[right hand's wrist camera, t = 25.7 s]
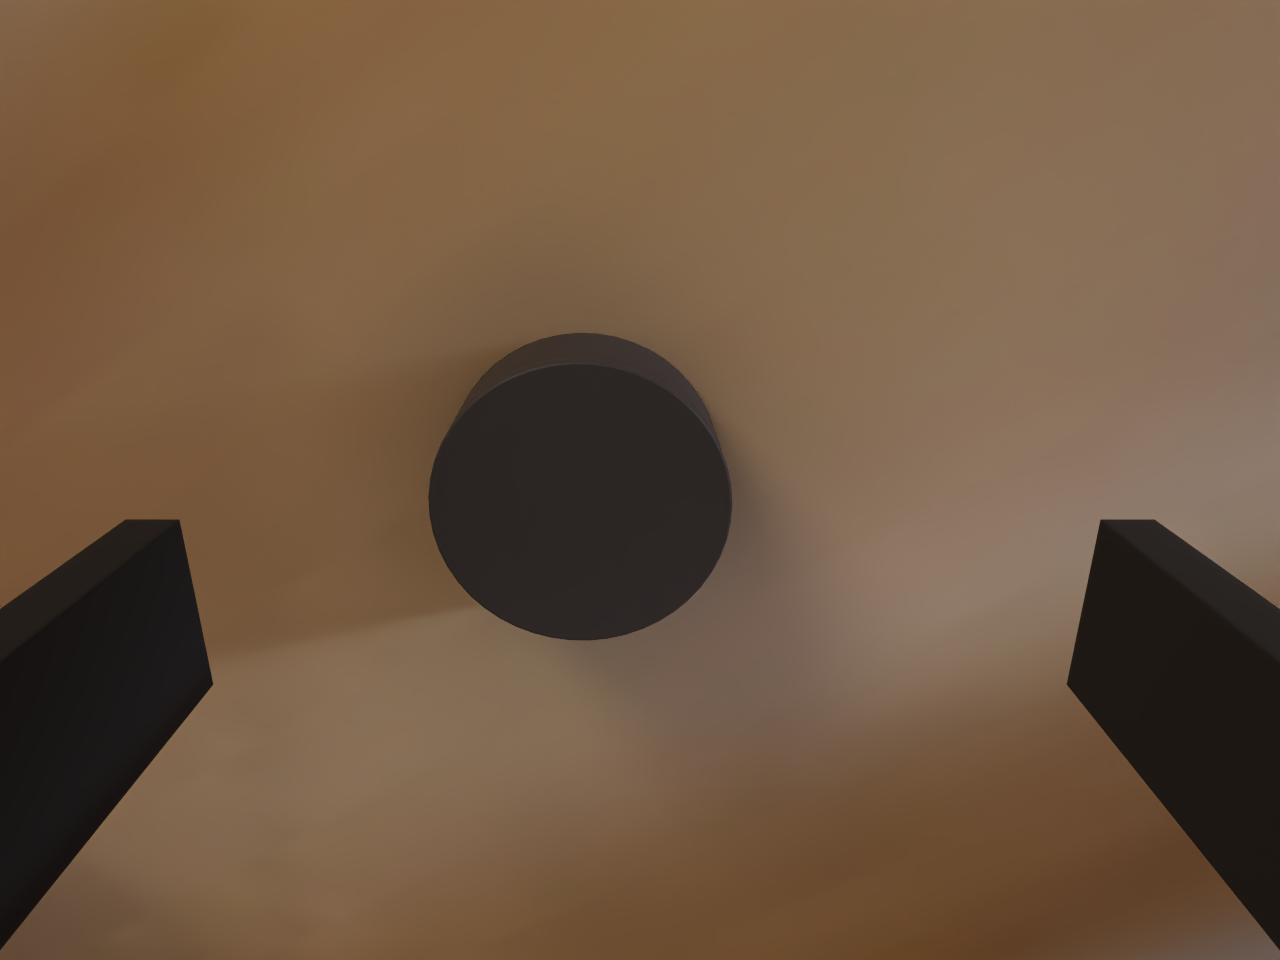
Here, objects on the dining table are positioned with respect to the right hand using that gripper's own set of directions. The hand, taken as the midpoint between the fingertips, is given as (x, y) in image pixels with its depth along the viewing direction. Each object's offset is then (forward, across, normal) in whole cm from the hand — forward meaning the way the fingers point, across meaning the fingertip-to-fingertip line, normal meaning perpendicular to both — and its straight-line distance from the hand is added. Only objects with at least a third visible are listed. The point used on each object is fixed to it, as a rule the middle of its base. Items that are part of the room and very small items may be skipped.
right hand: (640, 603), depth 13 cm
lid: (+3, +1, 0) cm, 3 cm away
